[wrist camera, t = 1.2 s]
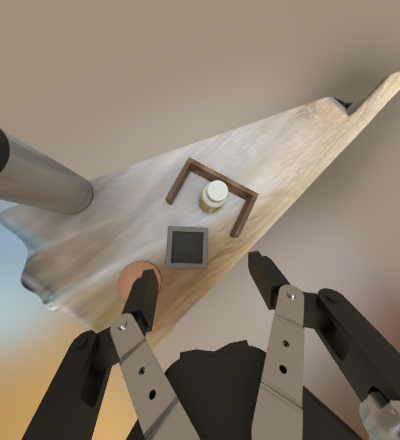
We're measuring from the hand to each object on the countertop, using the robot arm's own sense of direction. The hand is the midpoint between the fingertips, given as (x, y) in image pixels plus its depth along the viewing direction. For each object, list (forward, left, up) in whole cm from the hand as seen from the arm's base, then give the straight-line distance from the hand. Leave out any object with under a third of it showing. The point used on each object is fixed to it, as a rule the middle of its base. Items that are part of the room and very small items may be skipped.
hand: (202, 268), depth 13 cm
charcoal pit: (-1, +1, -24) cm, 24 cm away
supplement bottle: (+4, +12, -24) cm, 27 cm away
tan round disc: (-11, -7, -24) cm, 27 cm away
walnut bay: (+4, +12, -24) cm, 27 cm away
